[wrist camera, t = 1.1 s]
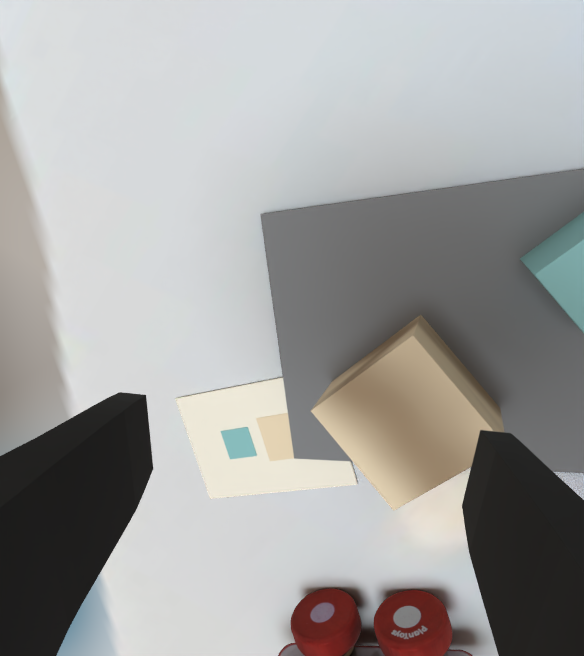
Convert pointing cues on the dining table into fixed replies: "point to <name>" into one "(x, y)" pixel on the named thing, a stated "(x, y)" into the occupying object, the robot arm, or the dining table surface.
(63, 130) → the dining table surface
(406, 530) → the dining table surface
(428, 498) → the dining table surface
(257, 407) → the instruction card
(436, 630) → the toy fire truck
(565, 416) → the mat
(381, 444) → the base block
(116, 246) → the dining table surface
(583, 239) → the teal brick
